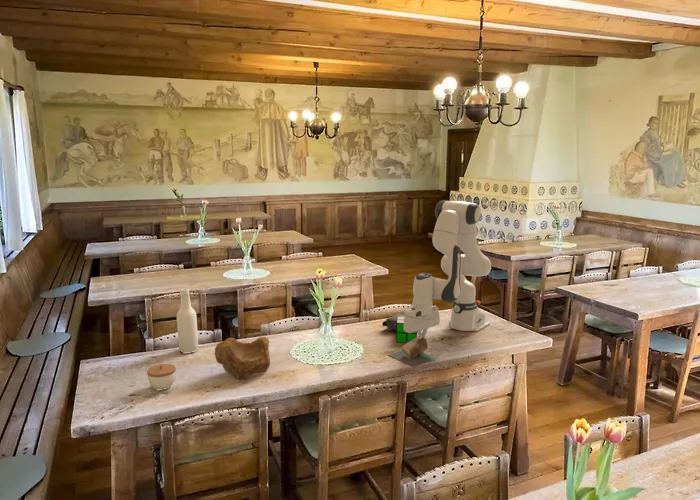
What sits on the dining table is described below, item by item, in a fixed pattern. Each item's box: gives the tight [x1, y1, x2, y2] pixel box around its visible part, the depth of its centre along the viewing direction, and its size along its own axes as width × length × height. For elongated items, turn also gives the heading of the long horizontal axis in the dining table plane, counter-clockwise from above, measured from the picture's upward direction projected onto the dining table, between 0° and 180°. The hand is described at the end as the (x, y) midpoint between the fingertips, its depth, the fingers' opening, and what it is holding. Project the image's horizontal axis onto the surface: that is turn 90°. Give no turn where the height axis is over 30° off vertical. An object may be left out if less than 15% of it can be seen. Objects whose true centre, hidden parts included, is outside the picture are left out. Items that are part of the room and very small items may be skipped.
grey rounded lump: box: [381, 311, 406, 332], centre depth 277 cm, size 18×11×8 cm, turn 144°
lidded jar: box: [146, 363, 177, 390], centre depth 210 cm, size 11×11×9 cm
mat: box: [387, 350, 430, 368], centre depth 238 cm, size 10×16×1 cm, turn 38°
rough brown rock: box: [214, 336, 271, 381], centre depth 220 cm, size 23×17×15 cm
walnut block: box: [401, 336, 429, 359], centre depth 240 cm, size 5×5×11 cm
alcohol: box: [176, 287, 199, 353], centre depth 246 cm, size 9×9×30 cm
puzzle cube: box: [395, 317, 418, 344], centre depth 261 cm, size 10×10×10 cm
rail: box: [418, 352, 435, 362], centre depth 241 cm, size 2×18×2 cm, turn 38°
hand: (421, 337), depth 241 cm, fingers closed
